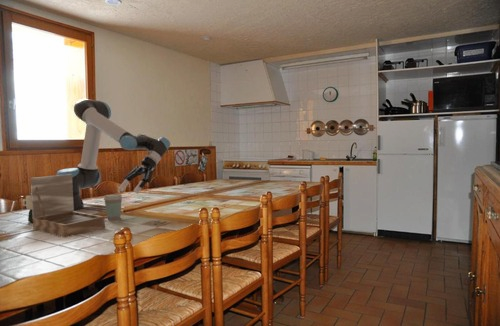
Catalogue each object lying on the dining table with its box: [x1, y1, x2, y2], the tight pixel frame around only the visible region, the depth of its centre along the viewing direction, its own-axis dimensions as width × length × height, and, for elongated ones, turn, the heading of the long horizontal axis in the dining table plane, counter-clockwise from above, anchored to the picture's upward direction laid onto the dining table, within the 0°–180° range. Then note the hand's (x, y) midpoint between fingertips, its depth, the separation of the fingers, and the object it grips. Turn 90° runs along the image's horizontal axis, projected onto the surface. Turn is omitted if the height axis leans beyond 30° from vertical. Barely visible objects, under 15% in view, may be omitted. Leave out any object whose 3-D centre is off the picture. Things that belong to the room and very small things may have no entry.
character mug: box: [22, 194, 33, 223], centre depth 165 cm, size 11×7×13 cm, turn 100°
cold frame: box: [29, 174, 106, 238], centre depth 150 cm, size 26×18×23 cm
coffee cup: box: [103, 193, 123, 221], centre depth 168 cm, size 9×8×12 cm
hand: (127, 191), depth 174 cm, fingers open, 13 cm apart
